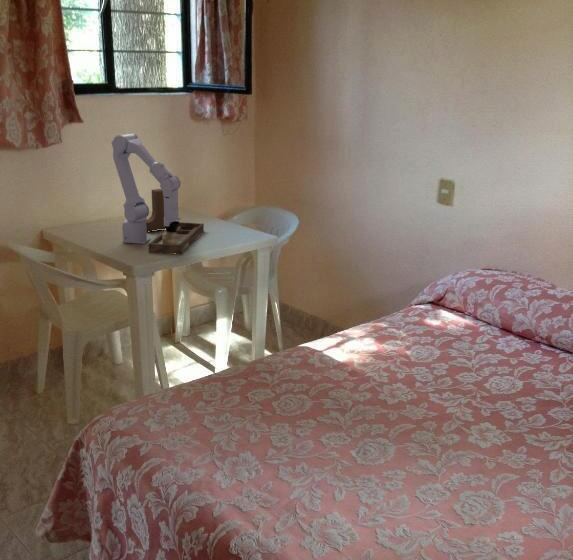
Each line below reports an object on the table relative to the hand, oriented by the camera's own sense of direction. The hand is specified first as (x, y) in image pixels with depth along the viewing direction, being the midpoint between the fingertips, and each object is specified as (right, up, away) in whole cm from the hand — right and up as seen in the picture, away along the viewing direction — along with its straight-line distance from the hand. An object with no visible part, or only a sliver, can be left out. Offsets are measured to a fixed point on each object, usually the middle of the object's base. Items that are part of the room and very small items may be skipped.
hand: (172, 239), depth 269 cm
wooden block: (-12, +5, +25) cm, 28 cm away
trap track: (+1, 0, +9) cm, 9 cm away
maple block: (0, -2, -3) cm, 4 cm away
